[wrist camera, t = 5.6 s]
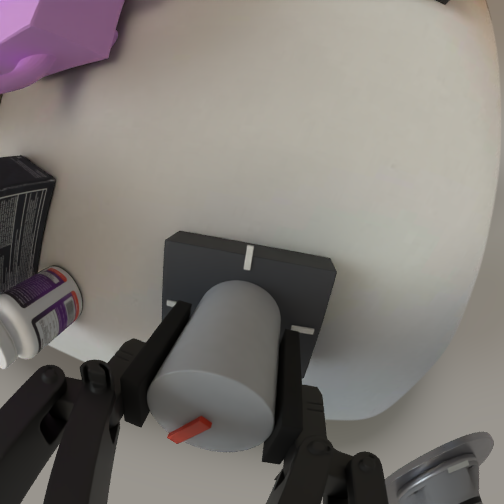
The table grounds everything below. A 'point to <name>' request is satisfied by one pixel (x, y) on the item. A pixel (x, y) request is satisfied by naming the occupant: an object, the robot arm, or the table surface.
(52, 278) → the pill bottle
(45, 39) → the teapot
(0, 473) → the robot arm
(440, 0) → the switch block
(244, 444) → the temp dial
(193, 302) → the dial panel
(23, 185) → the small box
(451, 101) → the table surface
